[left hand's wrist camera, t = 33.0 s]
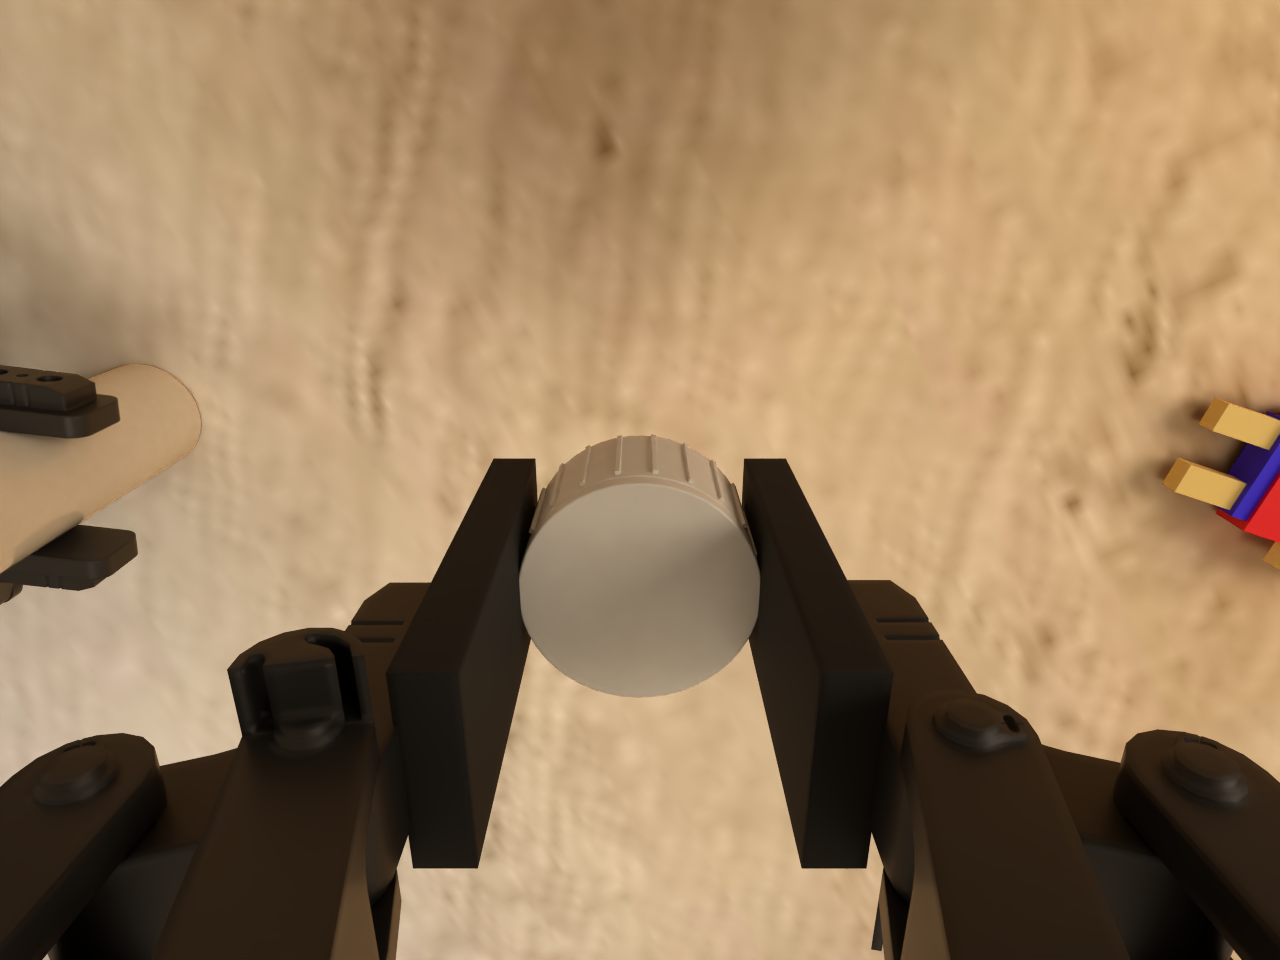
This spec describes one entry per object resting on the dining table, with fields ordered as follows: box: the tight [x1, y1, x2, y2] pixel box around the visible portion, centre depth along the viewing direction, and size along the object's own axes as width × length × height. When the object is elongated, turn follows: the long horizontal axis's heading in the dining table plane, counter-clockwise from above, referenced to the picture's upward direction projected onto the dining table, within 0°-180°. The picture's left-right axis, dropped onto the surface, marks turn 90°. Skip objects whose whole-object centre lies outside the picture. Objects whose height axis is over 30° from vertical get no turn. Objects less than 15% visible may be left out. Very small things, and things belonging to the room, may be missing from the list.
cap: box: [519, 435, 760, 697], centre depth 13 cm, size 4×4×2 cm
